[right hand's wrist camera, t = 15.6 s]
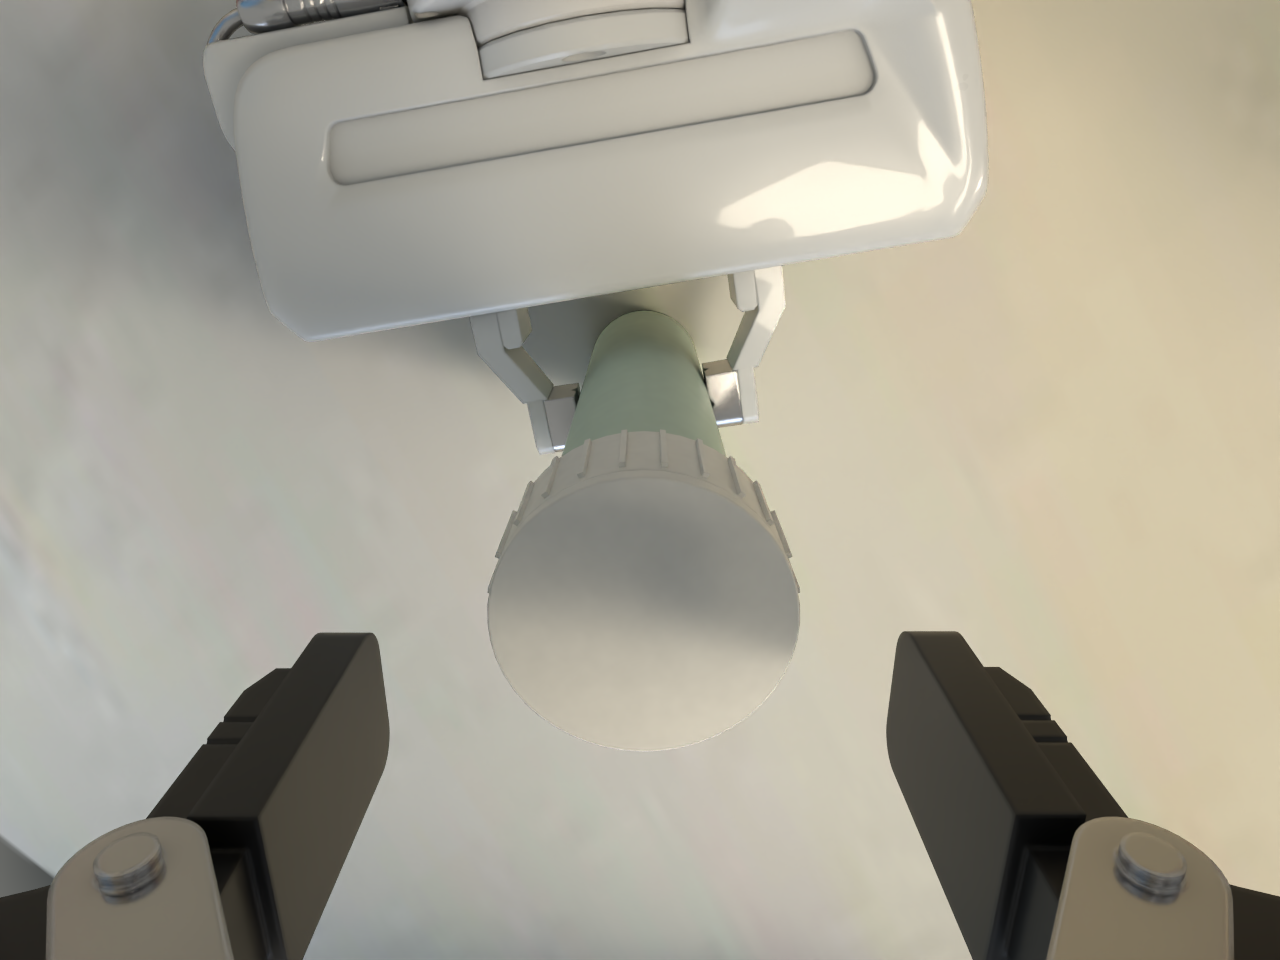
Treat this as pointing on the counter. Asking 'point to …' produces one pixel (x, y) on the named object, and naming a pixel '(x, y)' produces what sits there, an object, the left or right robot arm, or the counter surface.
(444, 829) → the counter surface
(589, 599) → the lid
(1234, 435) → the counter surface
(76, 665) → the counter surface
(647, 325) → the pale green cylinder
